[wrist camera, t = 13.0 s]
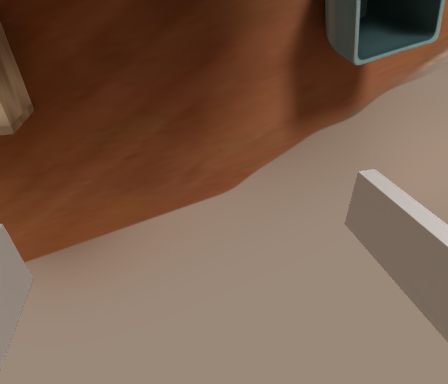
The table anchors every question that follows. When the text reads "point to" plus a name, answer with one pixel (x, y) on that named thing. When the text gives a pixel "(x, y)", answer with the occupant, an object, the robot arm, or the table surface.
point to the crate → (11, 91)
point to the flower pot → (380, 26)
